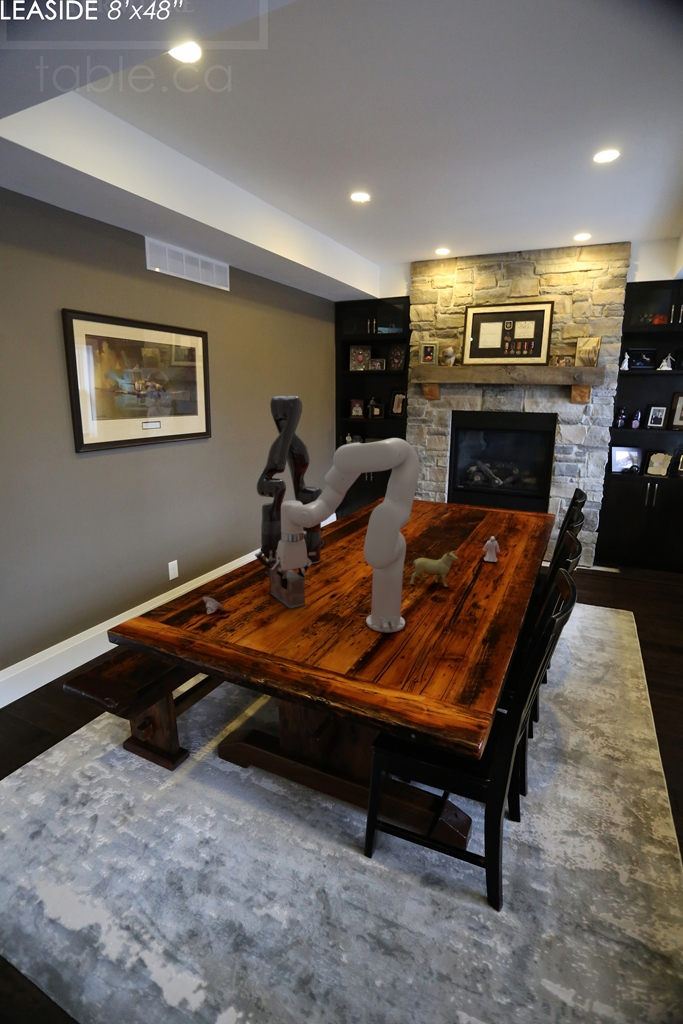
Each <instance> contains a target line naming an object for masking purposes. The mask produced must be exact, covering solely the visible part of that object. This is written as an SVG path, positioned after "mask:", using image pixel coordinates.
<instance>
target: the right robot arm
mask: <svg viewBox="0 0 683 1024" xmlns="http://www.w3.org/2000/svg"><path fill="white" fill-rule="evenodd" d="M332 461H333V465H332V466H331V467H330V469H329V470H328V471H327V473H326V474H325V475H324V482H325V484H326V485H325V488H324V489H323V490H322V493H321V495H320V496H319V497H318V499H317V500H316V501H314V502H311V503H309V504H306V505H303V504H302V503H301V502H300V501H296V500H293V499H290V500H285V501H284V500H283V502H282V504H281V540H280V541H279V543H278V548H277V559H276V564H275V565H274V566H273V568H272V570H273V571H274V572H275V573H276V574H278V575H279V576H280V584H281V586H282V587H283V588H284V589H287V578H286V574H287V571H288V570H292V571H293V570H298V572H297V574H299V575H300V576H302V577H304V578H305V575H306V573H307V571H308V569H309V567H311V565H313V564H312V561H311V560H310V559H309V558H308V557H307V550H306V544H305V540H304V539H303V538H304V535H306V531H303V527H306V528H310V527H313V526H315V525H317V524H319V523H321V524H322V523H323V522H326V521H327V520H328V519H329V518H330V517H331V516H332V515H333V514H334V513H335V511H336V510H337V509H338V508H339V507H340V504H342V502H343V500H344V498H345V496H346V494H347V492H348V491H349V489H350V488H351V486H352V485H353V484H354V483H355V482H356V480H357V479H358V478H359V477H360V476H361V474H364V473H375V472H383V471H384V472H385V471H388V470H391V473H390V476H389V479H388V483H387V486H386V487H387V488H386V492H385V496H384V500H383V501H382V502H381V503H379V504H378V505H377V506H375V508H373V510H372V512H371V514H370V516H369V520H368V524H367V529H366V534H365V539H364V544H363V557H364V561H365V562H366V564H367V565H368V566H369V567H370V568H372V585H371V586H372V587H371V607H370V609H371V613H370V615H368V616H367V617H366V621H365V622H366V623H365V624H366V625H367V627H368V628H369V629H372V630H373V631H376V632H379V633H396V632H398V631H402V630H403V629H404V628H405V626H406V620H405V618H403V617H402V615H401V614H402V599H403V598H402V597H403V580H404V567H405V559H406V553H407V541H406V538H405V536H404V535H403V534H402V532H400V530H402V529H403V528H404V527H405V526H406V525H407V524H408V522H409V521H410V519H411V515H412V514H411V513H412V508H413V505H414V500H415V497H416V490H417V484H418V482H419V481H418V480H419V474H420V460H419V456H418V453H417V451H416V450H415V448H414V447H413V446H412V445H411V443H409V442H407V440H405V439H402V438H399V437H391V438H386V439H383V440H378V441H372V442H365V443H362V442H351V443H347V444H343V445H341V446H339V447H338V448H337V449H336V450H335V452H334V454H333V459H332ZM279 567H281V570H280V571H279V570H278V568H279Z"/></svg>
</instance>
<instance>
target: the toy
mask: <svg viewBox="0 0 683 1024" xmlns="http://www.w3.org/2000/svg"><path fill="white" fill-rule="evenodd" d="M457 552H458V550H452V551H450V552H446V553H444V555H443V556H442V557H441V558H440V559H431V558H427V557H418V558H417V559H416V558H415V559H414V560H413V568H414V572H412V574H411V578H410V581H409V584H410V585H411V586H415V584H416V583H415V582H414V581H415V578H416V577H417V576H418V577H420V579H421V580H422V582H426V578H425V576H424V575H423V574H426V575H428V576H435V578H434V583H435V584H439V581H438V580H439V578H441V581H442V585H443V587H444V588H446V589H447V588H449V585H448V584H447V582H446V580H447V579H446V577H447V575H448V574H449V572H450V570H451V567H452V563H453V561H454V562H458V561H459V557H458V556H457V555H455V554H456V553H457Z"/></svg>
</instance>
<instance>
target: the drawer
mask: <svg viewBox="0 0 683 1024" xmlns="http://www.w3.org/2000/svg"><path fill="white" fill-rule="evenodd" d="M263 574H264V577H265V578H269V590H270V591H271V577H270V568H269V575H268V571H265V572H264V573H263Z"/></svg>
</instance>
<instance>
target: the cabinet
mask: <svg viewBox="0 0 683 1024" xmlns="http://www.w3.org/2000/svg"><path fill="white" fill-rule="evenodd" d="M278 570H279V571H280V570H281V567H279V568H278ZM270 577H271V590H270V595H272V596H273V597H274V598H276V599H277V600H278V601H279V602H281V603H282V604H284V605H285V607H287V608H289V609H290V610H292V609H295V608H299V607H303V606H305V605H306V592H305V591H306V589H305V588H306V581H305V580H306V578H305V576H304V577H302V576H300V575H299V574H298V572H296V571H294V570H293V569H292V570H288V571H287V574H286V578H287V589H284V588H283V587H282V586H281V584H280V576H279V575H278V574H276V573H275V572H274V571H273V570H272V568H270Z"/></svg>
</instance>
